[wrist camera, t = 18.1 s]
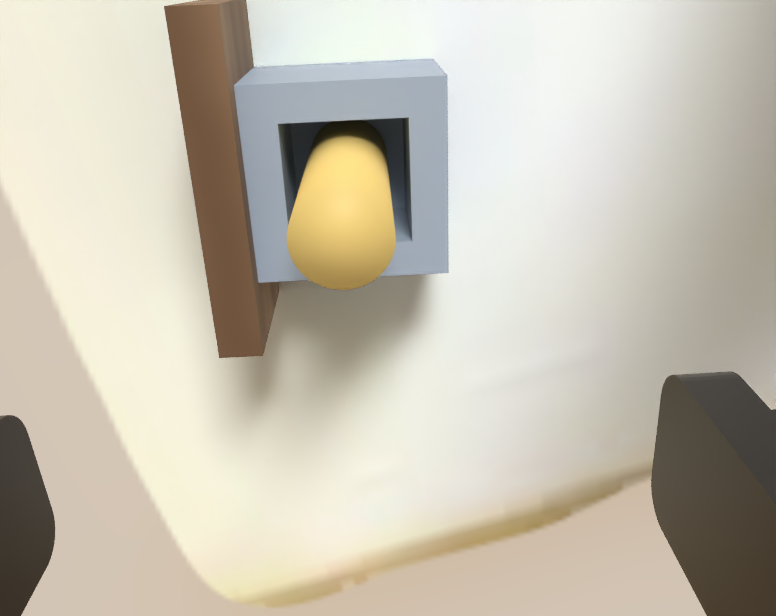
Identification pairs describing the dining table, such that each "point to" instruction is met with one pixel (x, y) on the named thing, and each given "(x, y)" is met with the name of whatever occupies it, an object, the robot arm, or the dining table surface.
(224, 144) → the wall
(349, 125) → the dowel
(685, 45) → the dining table surface
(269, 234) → the socket block
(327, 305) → the dining table surface
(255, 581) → the dining table surface
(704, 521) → the robot arm
